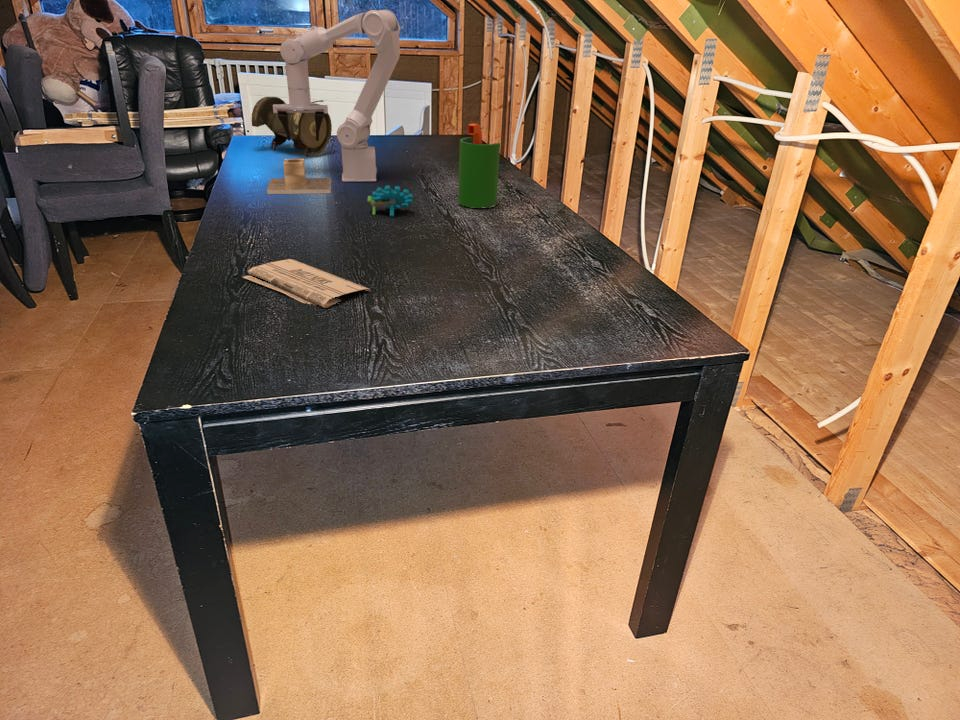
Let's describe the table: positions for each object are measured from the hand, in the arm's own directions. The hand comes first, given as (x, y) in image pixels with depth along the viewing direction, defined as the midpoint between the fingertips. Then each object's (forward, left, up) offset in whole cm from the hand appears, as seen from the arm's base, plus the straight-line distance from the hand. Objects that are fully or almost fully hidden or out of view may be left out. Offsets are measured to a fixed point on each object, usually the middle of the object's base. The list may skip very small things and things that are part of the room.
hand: (303, 139), depth 184 cm
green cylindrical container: (-44, +33, -10) cm, 56 cm away
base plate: (+1, +15, -9) cm, 18 cm away
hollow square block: (+2, +15, -8) cm, 17 cm away
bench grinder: (+3, -29, -10) cm, 31 cm away
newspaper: (-3, +82, -10) cm, 83 cm away
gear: (-22, +39, -10) cm, 46 cm away
